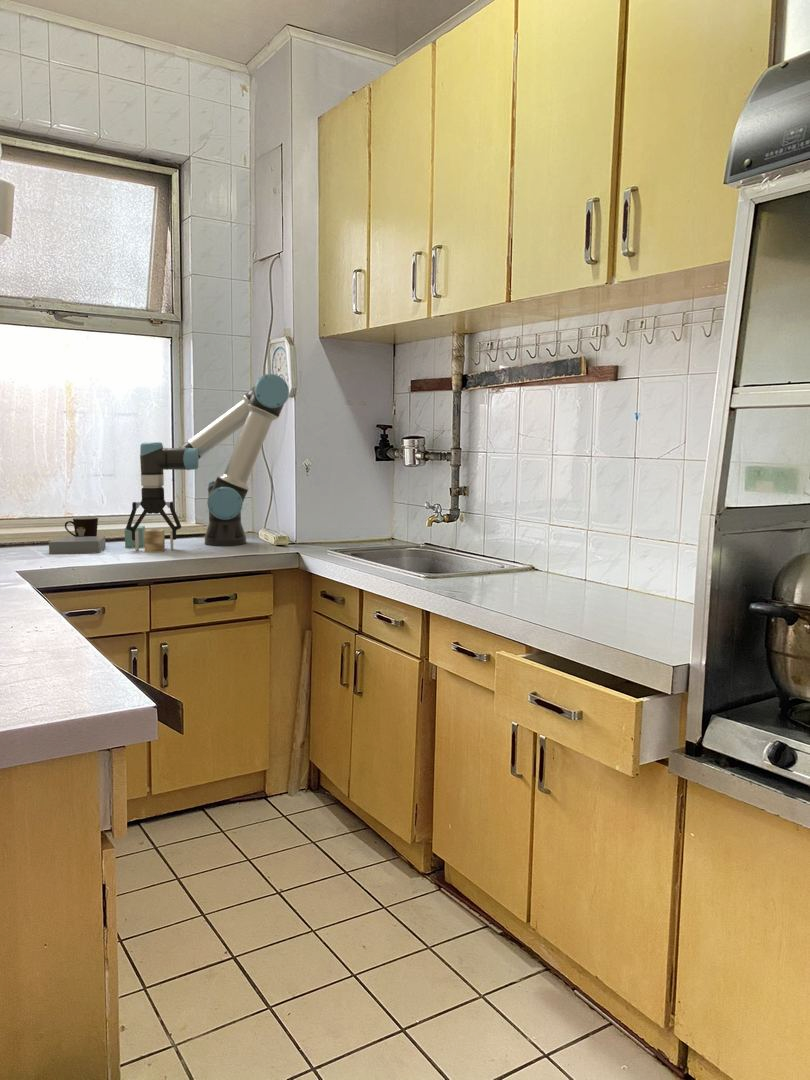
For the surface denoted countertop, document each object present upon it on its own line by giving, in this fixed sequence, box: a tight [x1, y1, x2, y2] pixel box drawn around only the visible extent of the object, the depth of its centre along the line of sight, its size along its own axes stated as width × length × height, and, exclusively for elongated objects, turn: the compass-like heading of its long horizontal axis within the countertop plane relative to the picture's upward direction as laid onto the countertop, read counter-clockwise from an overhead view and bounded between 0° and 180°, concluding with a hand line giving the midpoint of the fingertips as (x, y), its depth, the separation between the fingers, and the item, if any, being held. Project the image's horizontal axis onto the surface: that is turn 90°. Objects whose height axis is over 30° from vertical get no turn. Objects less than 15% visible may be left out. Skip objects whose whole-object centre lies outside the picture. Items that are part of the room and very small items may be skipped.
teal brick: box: [124, 525, 146, 549], centre depth 299 cm, size 6×8×7 cm
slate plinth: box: [48, 535, 107, 555], centre depth 287 cm, size 16×14×4 cm
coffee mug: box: [64, 516, 99, 537], centre depth 300 cm, size 12×9×10 cm
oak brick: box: [144, 528, 166, 553], centre depth 289 cm, size 6×8×7 cm
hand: (154, 549), depth 289 cm, fingers open, 11 cm apart
